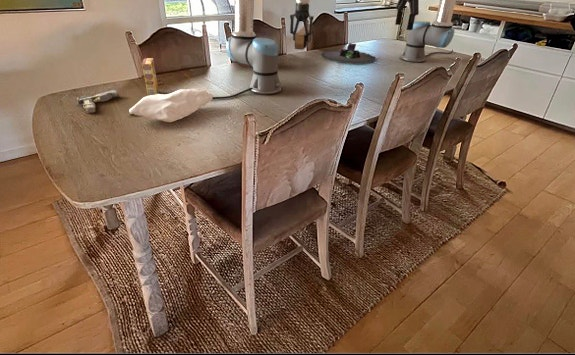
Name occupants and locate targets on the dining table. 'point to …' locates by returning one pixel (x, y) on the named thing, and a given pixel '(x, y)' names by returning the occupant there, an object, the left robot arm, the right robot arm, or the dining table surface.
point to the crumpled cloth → (171, 104)
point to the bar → (301, 38)
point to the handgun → (95, 100)
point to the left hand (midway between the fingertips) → (300, 46)
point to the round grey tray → (348, 55)
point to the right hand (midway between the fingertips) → (403, 27)
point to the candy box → (150, 76)
